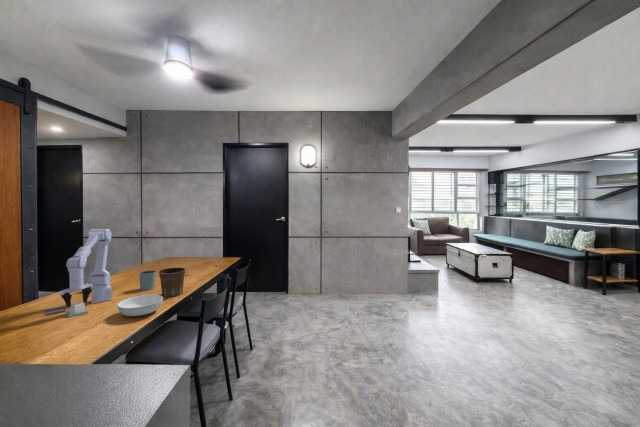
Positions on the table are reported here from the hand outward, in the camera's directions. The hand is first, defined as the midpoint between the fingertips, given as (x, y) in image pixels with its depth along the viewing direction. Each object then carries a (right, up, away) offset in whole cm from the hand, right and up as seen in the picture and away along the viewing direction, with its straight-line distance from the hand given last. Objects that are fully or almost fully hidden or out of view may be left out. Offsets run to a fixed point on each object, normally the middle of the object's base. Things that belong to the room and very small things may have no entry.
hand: (77, 304), depth 149 cm
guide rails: (-7, -5, +1) cm, 8 cm away
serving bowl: (+34, -5, +1) cm, 34 cm away
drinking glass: (+10, -4, +45) cm, 46 cm away
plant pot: (+34, -5, +33) cm, 48 cm away
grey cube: (0, -5, 0) cm, 5 cm away
